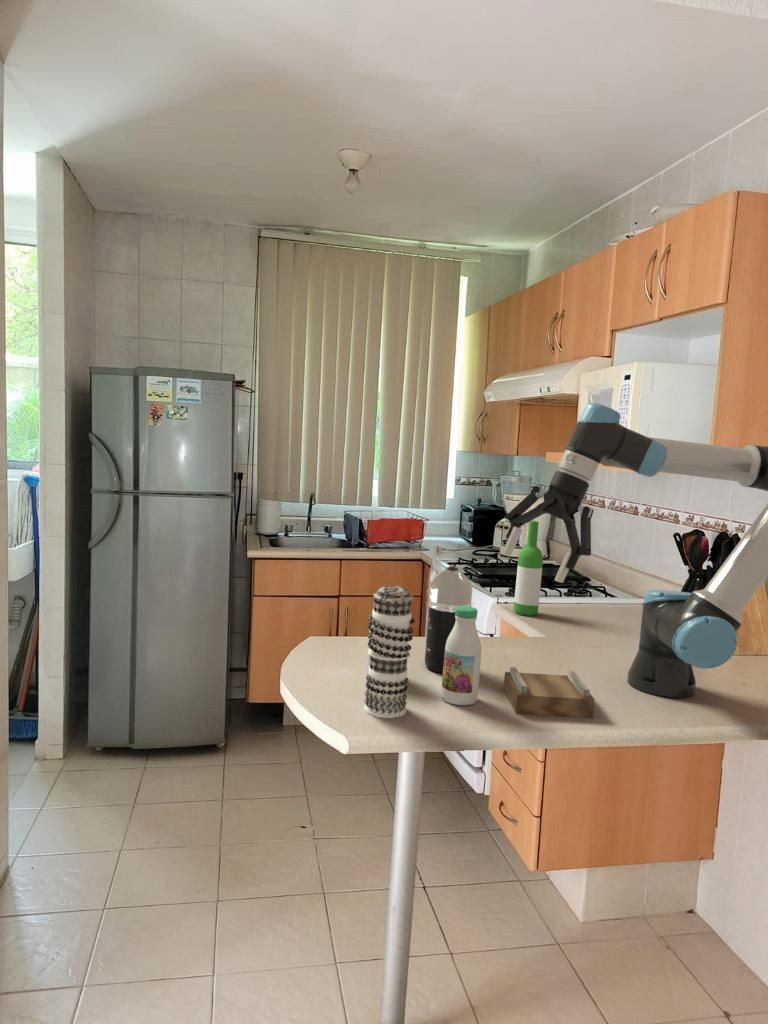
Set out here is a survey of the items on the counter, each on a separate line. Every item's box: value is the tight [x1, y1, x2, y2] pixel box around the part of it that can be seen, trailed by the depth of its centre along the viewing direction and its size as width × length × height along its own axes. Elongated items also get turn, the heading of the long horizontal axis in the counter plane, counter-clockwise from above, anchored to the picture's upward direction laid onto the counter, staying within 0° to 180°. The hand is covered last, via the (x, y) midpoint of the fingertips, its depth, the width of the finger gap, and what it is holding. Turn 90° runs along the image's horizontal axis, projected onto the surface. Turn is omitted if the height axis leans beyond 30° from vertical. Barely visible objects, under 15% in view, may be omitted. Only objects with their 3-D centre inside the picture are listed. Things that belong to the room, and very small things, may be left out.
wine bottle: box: [513, 520, 544, 617], centre depth 233 cm, size 8×8×30 cm
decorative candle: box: [363, 585, 416, 719], centre depth 146 cm, size 9×9×25 cm
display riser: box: [503, 666, 596, 719], centre depth 157 cm, size 16×14×6 cm
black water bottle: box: [424, 565, 473, 674], centre depth 174 cm, size 10×10×25 cm
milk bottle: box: [440, 606, 482, 706], centre depth 154 cm, size 8×8×20 cm
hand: (531, 568), depth 154 cm, fingers open, 13 cm apart
